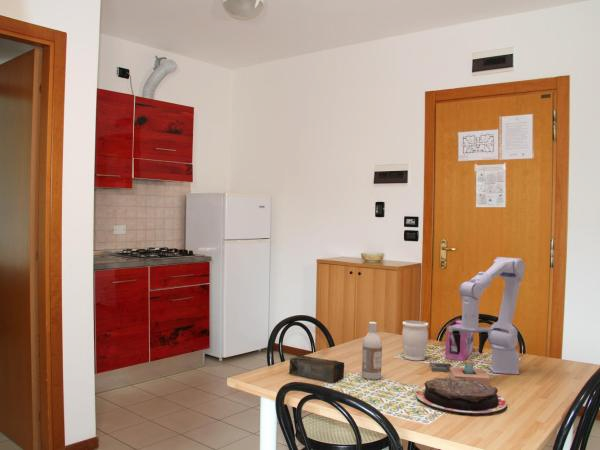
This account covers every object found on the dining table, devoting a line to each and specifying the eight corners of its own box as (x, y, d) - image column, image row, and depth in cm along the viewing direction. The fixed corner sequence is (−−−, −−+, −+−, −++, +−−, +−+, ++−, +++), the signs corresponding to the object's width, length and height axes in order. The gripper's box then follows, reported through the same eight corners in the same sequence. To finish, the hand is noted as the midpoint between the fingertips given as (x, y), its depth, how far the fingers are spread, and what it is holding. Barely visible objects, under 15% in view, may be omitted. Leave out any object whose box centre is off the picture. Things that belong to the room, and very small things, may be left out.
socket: (482, 376, 194) (482, 368, 194) (489, 386, 182) (490, 378, 182) (449, 374, 195) (449, 366, 195) (454, 384, 183) (454, 376, 183)
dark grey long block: (300, 370, 197) (300, 352, 197) (345, 379, 187) (345, 360, 187) (288, 374, 191) (289, 356, 191) (334, 384, 180) (335, 365, 180)
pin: (471, 378, 190) (471, 359, 190) (474, 381, 187) (474, 361, 187) (463, 378, 190) (463, 359, 190) (465, 381, 187) (466, 361, 187)
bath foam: (370, 381, 184) (371, 324, 184) (357, 376, 190) (359, 321, 190) (385, 378, 188) (386, 323, 188) (372, 373, 194) (373, 320, 194)
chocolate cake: (437, 382, 186) (438, 364, 186) (518, 400, 169) (519, 380, 169) (399, 402, 165) (400, 381, 165) (488, 425, 147) (488, 402, 147)
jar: (425, 355, 222) (426, 320, 222) (429, 362, 212) (430, 325, 212) (400, 354, 223) (401, 319, 223) (402, 361, 213) (403, 324, 213)
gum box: (463, 362, 214) (464, 329, 213) (443, 359, 217) (444, 327, 217) (473, 350, 235) (474, 320, 235) (455, 347, 238) (456, 318, 238)
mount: (450, 366, 206) (450, 363, 206) (453, 372, 198) (453, 369, 198) (429, 365, 207) (429, 362, 207) (431, 371, 199) (432, 368, 199)
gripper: (451, 316, 186) (450, 354, 186) (493, 317, 184) (492, 356, 185) (448, 312, 193) (447, 349, 193) (488, 314, 191) (488, 351, 192)
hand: (469, 352), depth 189 cm, fingers open, 7 cm apart
